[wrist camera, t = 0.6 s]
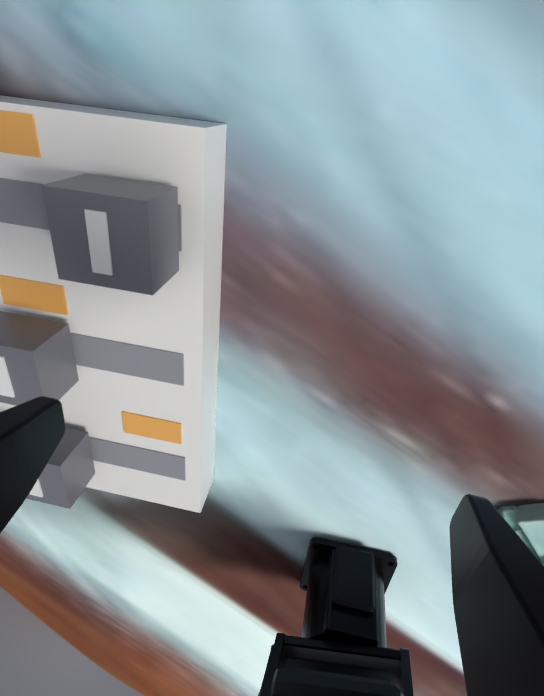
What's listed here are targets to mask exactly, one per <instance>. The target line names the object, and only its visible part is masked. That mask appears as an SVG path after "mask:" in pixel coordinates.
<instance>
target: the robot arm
mask: <svg viewBox="0 0 544 696" xmlns="http://www.w3.org/2000/svg"><path fill="white" fill-rule="evenodd" d="M65 427H66V426H65V420H64V414H63V408H62V403H61V402H60V401H59V400H58V399H55V398H50V397H46V396H40V397H37V398H34V399H32V400H29V401H27V402H24V403H22V404H19V405H17V406H14V407H12V408H9V409H7V410H5V411H2V412H0V533H1V532H2V530H3V529H4V528H5V526H6V525H7V524H8V522H9V521H10V519H11V518H12V517H13V515H14V514H15V513H16V511H17V510H18V509H19V507H20V506H21V505H22V503H23V502H24V500H25V499H26V497H27V496H28V495H29V493H30V491H31V490H32V488H33V487H34V485H35V483H36V482H37V480H38V478H39V477H40V475H41V473H42V472H43V470H44V468H45V467H46V465H47V463H48V461H49V460H50V458H51V456H52V455H53V453H54V451H55V450H56V448H57V446H58V445H59V443H60V441H61V440H62V438H63V436H64V433H65ZM450 548H451V570H452V592H453V605H454V613H455V620H456V626H457V633H458V639H459V646H460V652H461V658H462V665H463V671H464V678H465V684H466V691H467V696H544V565H543V564H542V563H541V562H540V561H539V559H538V558H537V557H536V556H535V555H534V553H533V552H532V551H531V550H530V549H529V547H528V546H527V545H526V544H525V543H524V541H523V540H522V539H521V538H520V537H519V535H518V534H517V533H516V532H515V531H514V529H513V528H512V527H511V526H510V525H509V524H508V522H507V521H506V520H505V519H504V518H503V516H502V515H501V514H500V513H499V512H498V510H497V509H496V508H495V507H494V506H493V504H492V503H491V502H490V501H489V500H488V499H486V498H483V497H479V496H475V495H470V494H467V495H465V496H464V497H463V499H462V500H461V502H460V504H459V506H458V508H457V509H456V511H455V513H454V515H453V517H452V519H451V522H450ZM396 567H397V558H396V557H395V556H393V555H390V554H385V553H381V552H376V551H372V550H368V549H363V548H359V547H355V546H350V545H346V544H341V543H337V542H333V541H328V540H324V539H319V538H312V539H311V540H310V544H309V548H308V552H307V556H306V560H305V564H304V569H303V573H302V577H301V581H300V588H301V589H303V590H306V591H307V595H306V604H305V613H304V621H303V630H302V637H295V636H287V635H285V634H284V633H277V635H276V639H275V643H274V645H272V646H271V652H270V656H269V659H268V663H267V667H266V671H265V675H264V679H263V683H262V687H261V689H260V692H259V694H258V696H413V687H412V677H411V668H410V658H409V649H405V648H400V649H392V648H387V645H386V622H385V598H384V594H385V592H386V590H387V587H388V585H389V583H390V580H391V578H392V576H393V574H394V571H395V569H396Z"/></svg>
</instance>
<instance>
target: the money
mask: <svg viewBox="0 0 544 696" xmlns="http://www.w3.org/2000/svg"><path fill="white" fill-rule="evenodd" d="M498 512H499V513H500V514H501V515H502V516H503V518H504V519H505V520H506V521H507V522H508V524H509V525H510V526H511V527H512V528H513V529H514V531H515V532H516V533H517V534H518V535H519V537H520V538H521V539H522V540H523V541H524V543H525V544H526V545H527V546H528V547H529V549H530V550H531V551H532V552H533V553H534V555H535V556H536V557H537V558H538V559H539V561H540V562H541V563H542V564H543V565H544V503H536V504H528V505H520V506H513V505H510V506H502V507H500V508H499V509H498Z"/></svg>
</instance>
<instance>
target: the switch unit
mask: <svg viewBox="0 0 544 696" xmlns="http://www.w3.org/2000/svg"><path fill="white" fill-rule="evenodd" d="M226 130H227V124H224V123H217V122H209V121H201V120H193V119H185V118H177V117H169V116H161V115H153V114H145V113H137V112H129V111H121V110H113V109H105V108H97V107H89V106H82V105H74V104H66V103H58V102H50V101H42V100H34V99H26V98H18V97H10V96H2V95H0V311H3V312H8V313H14V314H19V315H24V316H30V317H35V318H41V319H46V320H51V321H57V322H62V323H68V324H69V328H70V334H71V339H72V345H73V350H74V356H75V362H76V367H77V373H78V378H79V381H78V382H77V383H76V384H75V385H74V386H73V387H72V388H71V389H70V390H69V391H68V392H67V393H66V394H65V395H64V396H63V397H62V398H61V399H60V400H59V401H60V402H61V403H62V408H63V414H64V420H65V426H66V428H71V429H76V430H80V431H85V432H88V434H89V440H90V446H91V451H92V457H93V462H94V468H95V474H94V476H93V477H92V479H91V480H90V481H89V483H88V484H87V486H86V487H88V488H92V489H97V490H101V491H105V492H110V493H114V494H119V495H123V496H127V497H132V498H136V499H141V500H145V501H149V502H154V503H158V504H162V505H167V506H171V507H176V508H180V509H184V510H189V511H193V512H197V513H201V510H202V508H203V505H204V503H205V500H206V498H207V495H208V493H209V490H210V487H211V485H212V482H213V480H214V461H215V434H216V406H217V379H218V351H219V323H220V296H221V268H222V240H223V213H224V185H225V158H226ZM85 173H87V174H94V175H100V176H107V177H114V178H121V179H128V180H135V181H142V182H149V183H156V184H163V185H170V186H177V187H178V236H179V271H178V272H177V273H176V274H175V275H174V276H173V277H172V278H171V279H170V280H169V281H168V282H167V283H166V284H164V285H163V286H162V287H161V288H160V289H159V290H158V291H157V292H156V293H155V294H154V295H148V294H142V293H136V292H130V291H125V290H119V289H113V288H107V287H102V286H96V285H90V284H84V283H78V282H73V281H67V280H61V279H59V278H58V273H57V267H56V262H55V256H54V251H53V245H52V240H51V234H50V229H49V223H48V218H47V212H46V207H45V201H44V196H43V190H42V185H45V184H48V183H52V182H55V181H59V180H63V179H66V178H70V177H74V176H77V175H81V174H85ZM14 406H16V405H11V404H6V403H2V402H0V412H2V411H5V410H7V409H9V408H12V407H14Z"/></svg>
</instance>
